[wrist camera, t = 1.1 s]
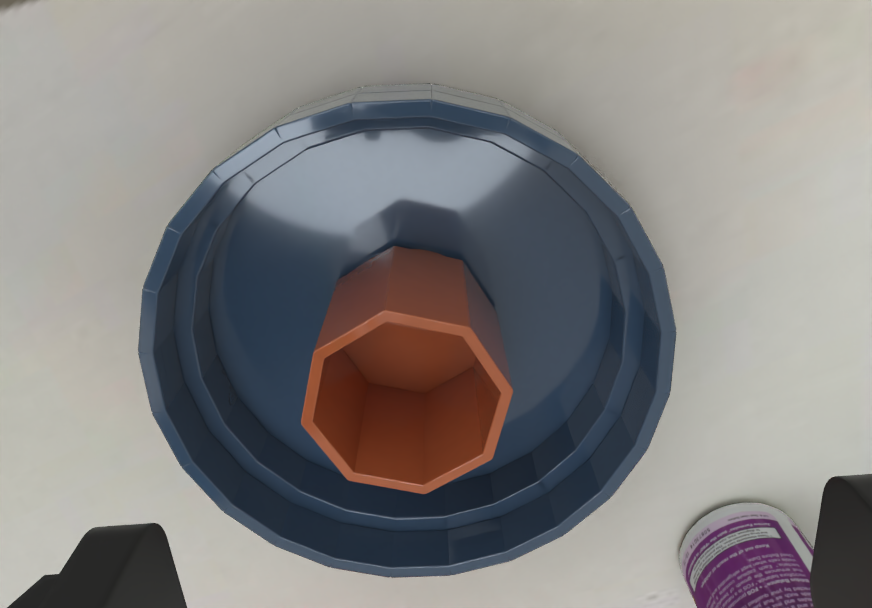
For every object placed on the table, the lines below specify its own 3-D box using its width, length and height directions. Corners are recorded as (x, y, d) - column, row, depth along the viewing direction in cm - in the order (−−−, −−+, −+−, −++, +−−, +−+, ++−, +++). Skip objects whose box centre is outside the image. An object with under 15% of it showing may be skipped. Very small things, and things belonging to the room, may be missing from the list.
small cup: (299, 299, 26) (264, 380, 21) (436, 216, 25) (437, 278, 20) (389, 416, 28) (379, 519, 23) (519, 344, 27) (542, 434, 22)
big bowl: (87, 250, 26) (22, 298, 22) (490, -25, 23) (504, -30, 19) (355, 558, 32) (343, 642, 28) (710, 376, 28) (758, 441, 24)
